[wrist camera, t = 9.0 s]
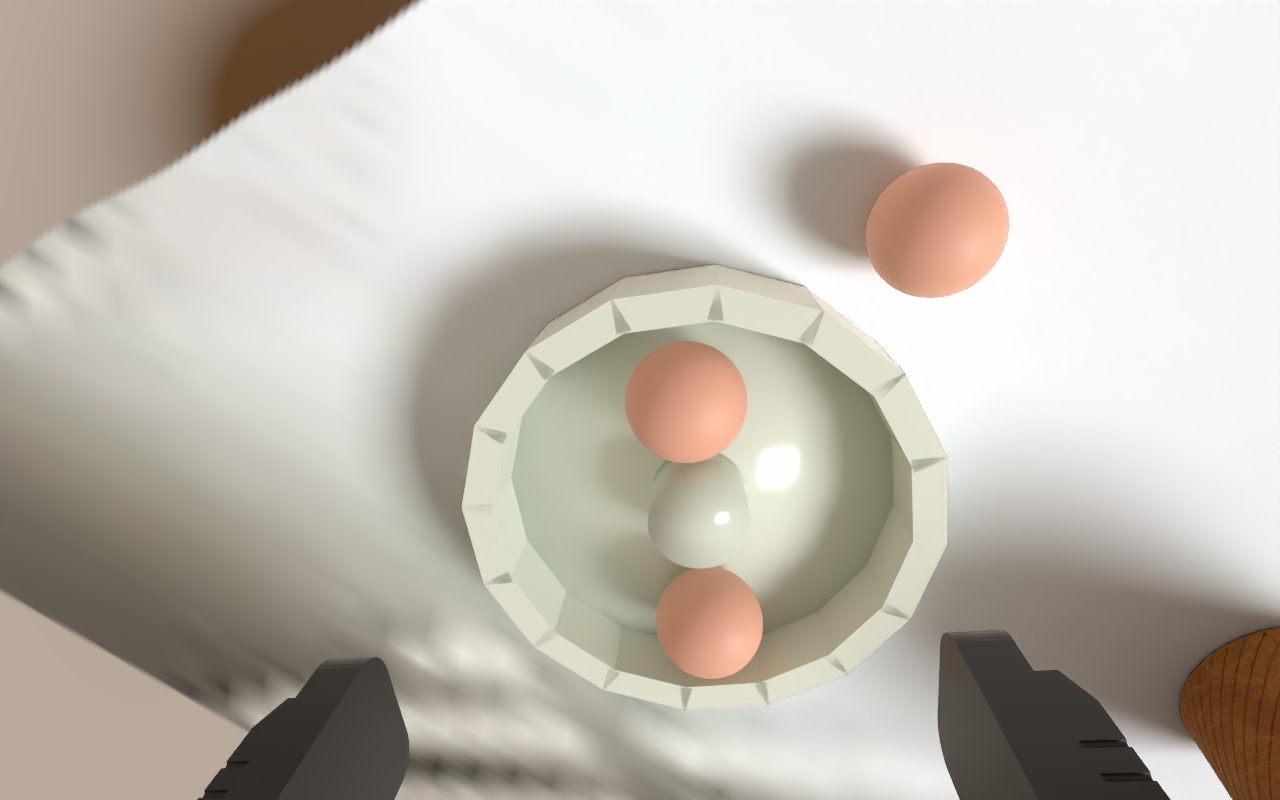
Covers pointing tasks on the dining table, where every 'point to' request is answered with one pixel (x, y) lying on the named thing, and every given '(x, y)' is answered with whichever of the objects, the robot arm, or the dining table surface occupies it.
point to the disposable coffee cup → (1239, 714)
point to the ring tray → (707, 489)
